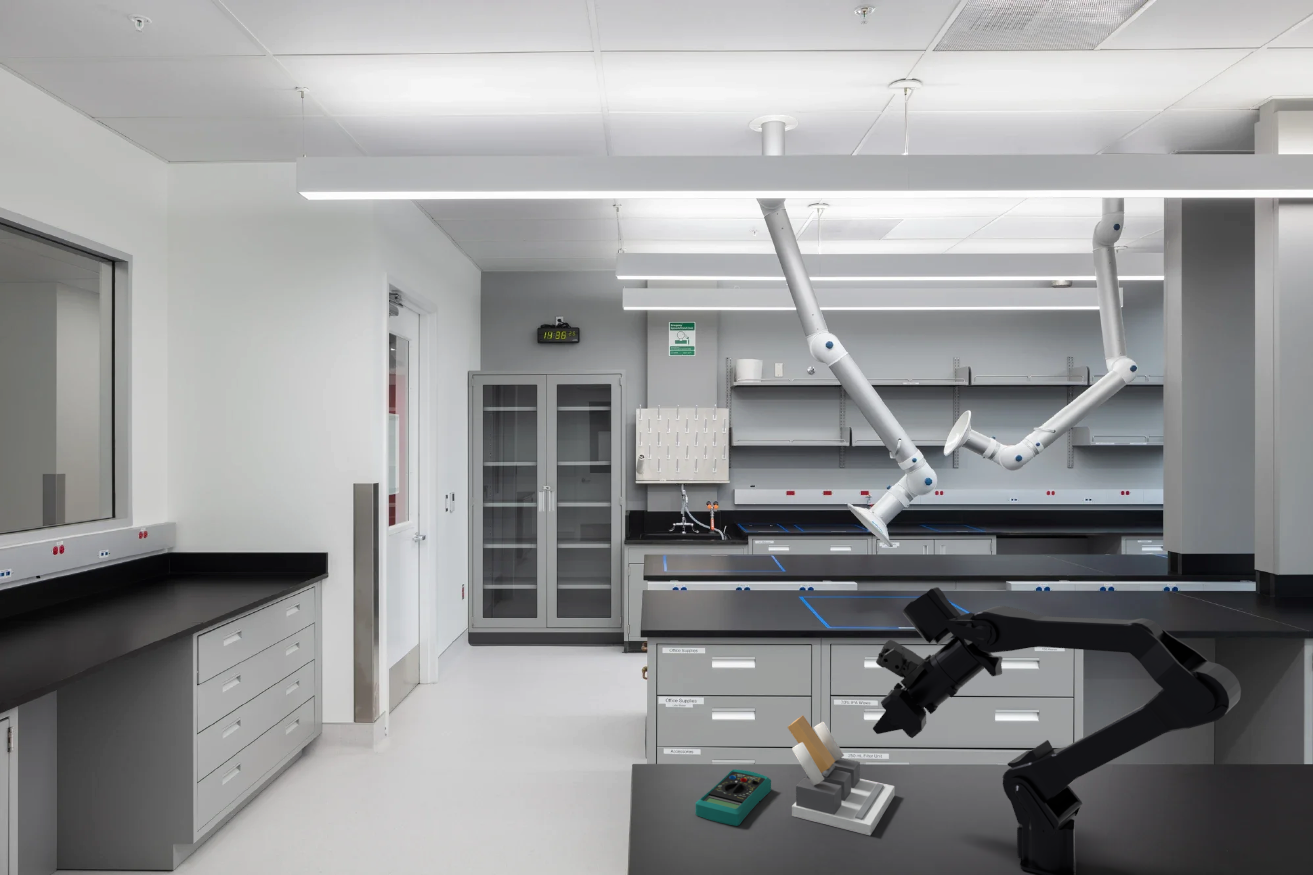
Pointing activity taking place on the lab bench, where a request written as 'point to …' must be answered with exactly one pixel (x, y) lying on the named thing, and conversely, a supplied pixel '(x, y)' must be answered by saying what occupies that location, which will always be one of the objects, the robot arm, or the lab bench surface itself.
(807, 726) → the wooden block
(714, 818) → the digital multimeter
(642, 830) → the lab bench surface
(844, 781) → the twin post stand
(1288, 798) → the lab bench surface
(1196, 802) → the lab bench surface
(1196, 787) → the lab bench surface
